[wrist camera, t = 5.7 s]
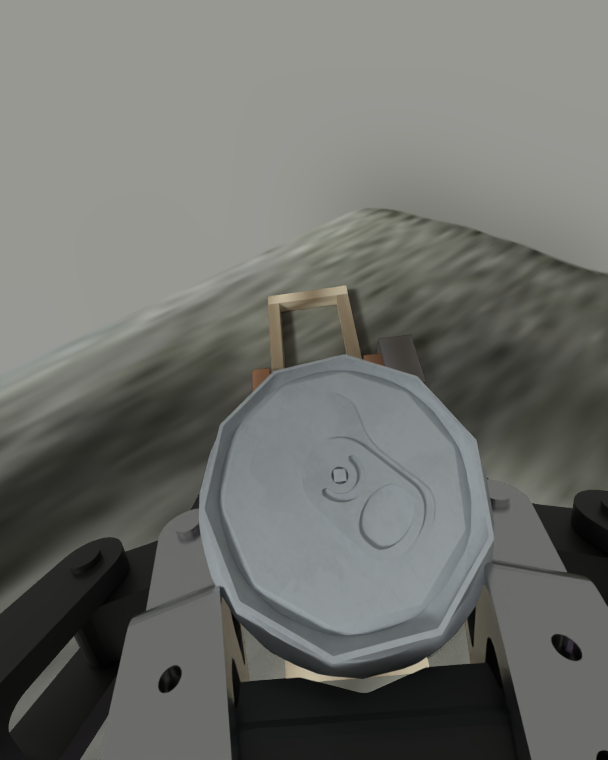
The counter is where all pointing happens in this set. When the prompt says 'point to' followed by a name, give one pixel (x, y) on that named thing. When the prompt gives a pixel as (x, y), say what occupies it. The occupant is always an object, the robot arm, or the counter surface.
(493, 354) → the counter surface
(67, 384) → the counter surface
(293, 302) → the beam track
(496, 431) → the counter surface
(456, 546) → the beer can
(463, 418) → the counter surface
